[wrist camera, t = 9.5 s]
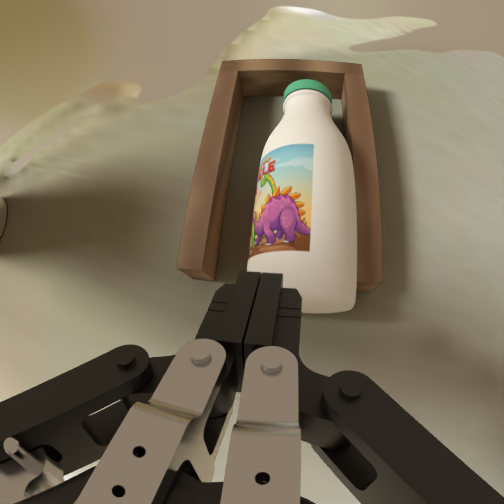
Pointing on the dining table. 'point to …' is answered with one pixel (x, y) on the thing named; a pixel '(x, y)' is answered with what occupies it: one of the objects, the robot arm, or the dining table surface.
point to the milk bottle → (307, 204)
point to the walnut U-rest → (223, 144)
